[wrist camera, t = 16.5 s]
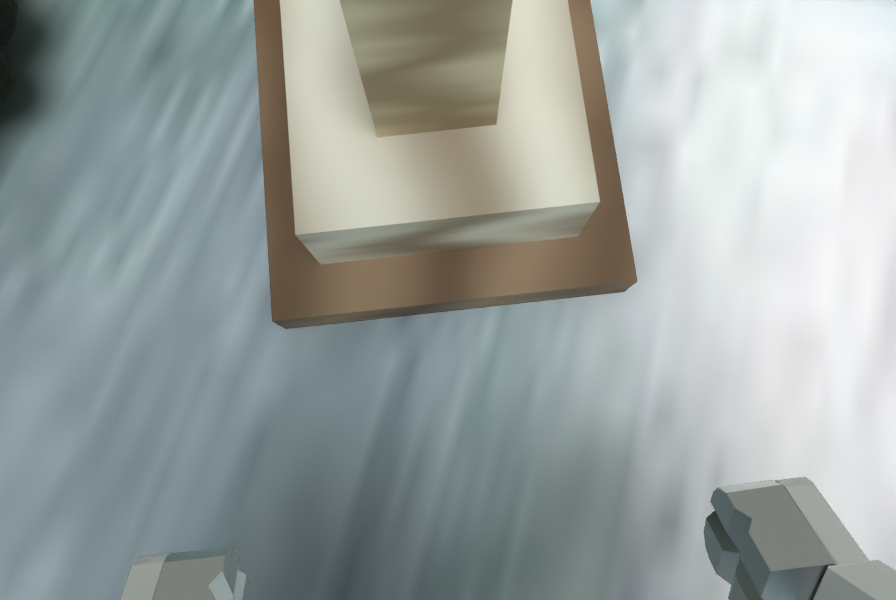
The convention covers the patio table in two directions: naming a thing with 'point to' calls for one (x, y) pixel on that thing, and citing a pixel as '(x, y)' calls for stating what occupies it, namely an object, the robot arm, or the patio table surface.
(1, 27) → the squash
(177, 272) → the patio table surface
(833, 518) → the robot arm
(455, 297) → the plinth
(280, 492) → the patio table surface
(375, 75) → the birch block
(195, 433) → the patio table surface
